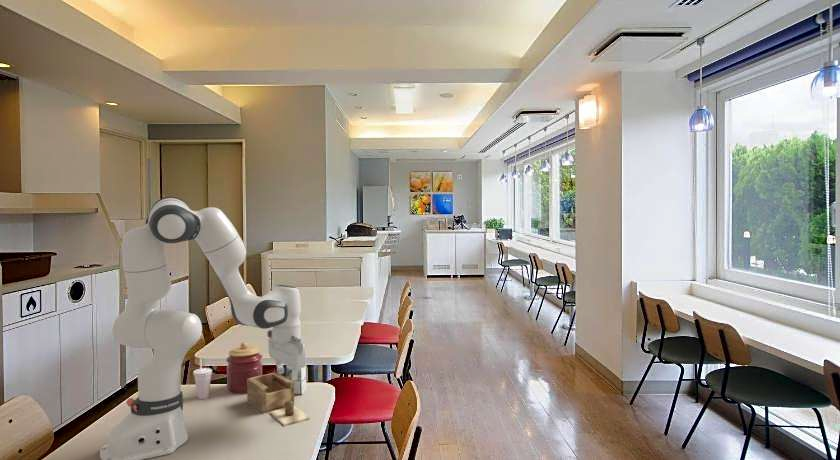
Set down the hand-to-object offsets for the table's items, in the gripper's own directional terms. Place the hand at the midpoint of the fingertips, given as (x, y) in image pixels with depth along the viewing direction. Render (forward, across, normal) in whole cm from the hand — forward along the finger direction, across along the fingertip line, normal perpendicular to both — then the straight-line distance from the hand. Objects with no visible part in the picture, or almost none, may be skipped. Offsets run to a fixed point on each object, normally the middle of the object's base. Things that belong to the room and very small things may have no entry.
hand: (287, 376), depth 169 cm
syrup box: (+13, +19, -13) cm, 26 cm away
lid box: (+13, +15, -1) cm, 20 cm away
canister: (+13, +36, 0) cm, 38 cm away
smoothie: (+13, +37, +15) cm, 42 cm away
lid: (+14, 0, -1) cm, 14 cm away
